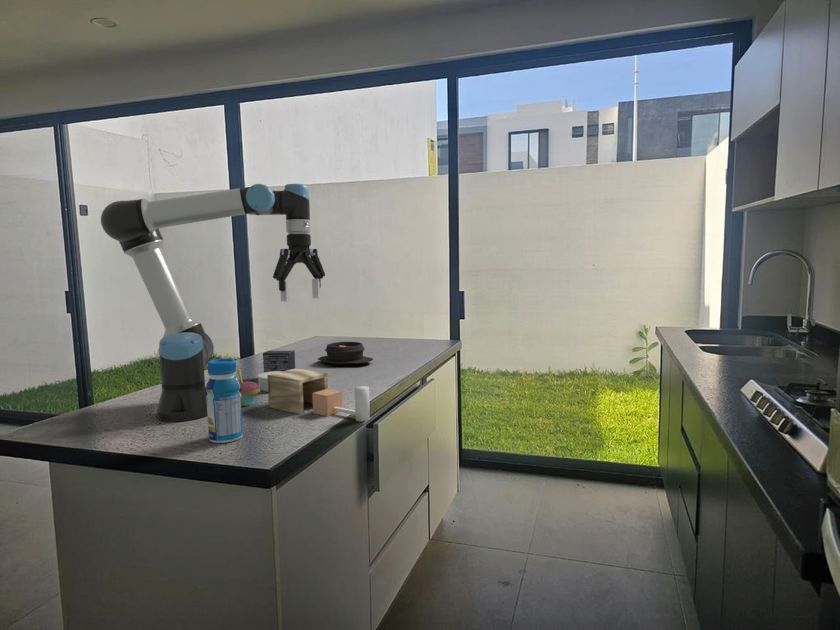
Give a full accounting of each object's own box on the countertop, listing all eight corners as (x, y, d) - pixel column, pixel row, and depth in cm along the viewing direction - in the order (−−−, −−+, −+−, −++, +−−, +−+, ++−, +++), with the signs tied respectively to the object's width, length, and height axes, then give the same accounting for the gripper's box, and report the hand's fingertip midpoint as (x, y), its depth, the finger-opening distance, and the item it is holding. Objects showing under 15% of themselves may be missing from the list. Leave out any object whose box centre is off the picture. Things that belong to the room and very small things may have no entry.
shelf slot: (300, 414, 159) (299, 380, 158) (268, 407, 167) (267, 375, 166) (328, 405, 169) (327, 373, 167) (296, 398, 177) (295, 368, 175)
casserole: (381, 361, 237) (381, 342, 236) (357, 370, 221) (357, 349, 220) (334, 357, 248) (333, 339, 248) (308, 365, 232) (307, 345, 231)
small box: (296, 377, 209) (295, 349, 208) (291, 380, 203) (289, 353, 202) (269, 376, 210) (268, 349, 209) (263, 380, 204) (262, 352, 203)
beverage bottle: (230, 445, 133) (226, 364, 131) (200, 442, 136) (196, 363, 134) (250, 434, 142) (246, 358, 139) (221, 432, 144) (217, 357, 142)
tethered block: (361, 423, 150) (360, 391, 149) (313, 413, 160) (311, 383, 159) (375, 417, 155) (374, 386, 154) (327, 408, 165) (326, 379, 164)
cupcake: (231, 408, 166) (229, 369, 165) (232, 401, 174) (230, 364, 173) (260, 406, 168) (258, 368, 167) (260, 399, 177) (259, 362, 175)
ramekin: (279, 394, 184) (279, 378, 183) (251, 392, 187) (250, 376, 186) (297, 386, 194) (296, 371, 194) (269, 384, 198) (269, 370, 197)
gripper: (275, 232, 163) (278, 303, 165) (334, 234, 183) (336, 297, 185) (259, 233, 167) (262, 302, 169) (318, 234, 187) (320, 296, 189)
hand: (301, 299), depth 177 cm, fingers open, 13 cm apart
